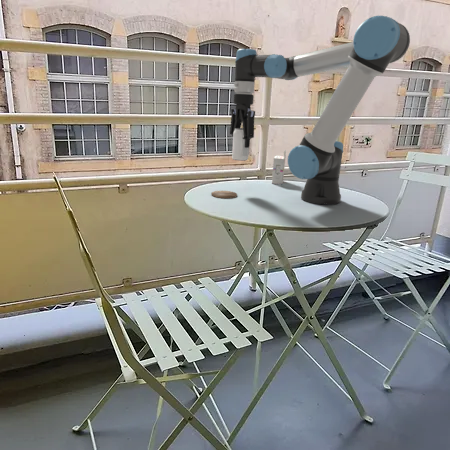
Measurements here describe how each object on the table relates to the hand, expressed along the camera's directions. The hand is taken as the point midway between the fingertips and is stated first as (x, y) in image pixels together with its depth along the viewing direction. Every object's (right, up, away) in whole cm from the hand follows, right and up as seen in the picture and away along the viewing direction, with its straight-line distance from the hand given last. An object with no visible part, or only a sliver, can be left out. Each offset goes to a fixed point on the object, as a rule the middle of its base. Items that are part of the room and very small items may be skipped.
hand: (240, 154), depth 156 cm
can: (0, -2, +1) cm, 2 cm away
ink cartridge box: (+18, -9, +25) cm, 32 cm away
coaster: (-6, -16, -3) cm, 18 cm away
